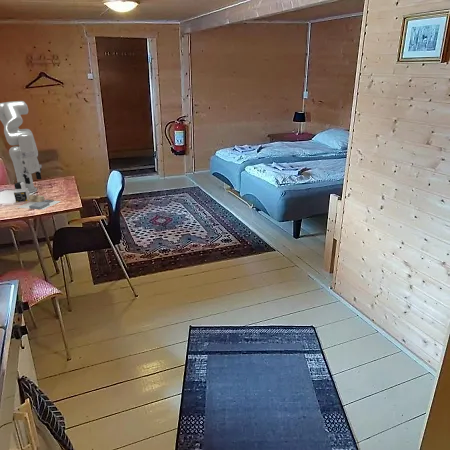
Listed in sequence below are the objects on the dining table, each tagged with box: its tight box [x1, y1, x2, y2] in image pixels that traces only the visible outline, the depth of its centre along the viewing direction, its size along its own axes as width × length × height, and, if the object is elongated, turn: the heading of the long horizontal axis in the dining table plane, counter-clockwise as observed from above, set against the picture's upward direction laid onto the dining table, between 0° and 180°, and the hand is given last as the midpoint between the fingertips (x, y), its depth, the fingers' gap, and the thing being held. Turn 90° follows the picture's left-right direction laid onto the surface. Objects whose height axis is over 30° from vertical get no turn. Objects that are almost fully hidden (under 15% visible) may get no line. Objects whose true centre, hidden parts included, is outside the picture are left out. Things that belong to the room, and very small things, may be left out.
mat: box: [16, 200, 61, 210], centre depth 252 cm, size 20×16×1 cm
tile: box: [28, 202, 49, 210], centre depth 247 cm, size 2×8×8 cm
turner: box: [28, 194, 55, 203], centre depth 257 cm, size 16×5×4 cm, turn 72°
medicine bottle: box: [13, 182, 31, 203], centre depth 261 cm, size 7×7×12 cm
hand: (33, 181), depth 254 cm, fingers open, 9 cm apart
